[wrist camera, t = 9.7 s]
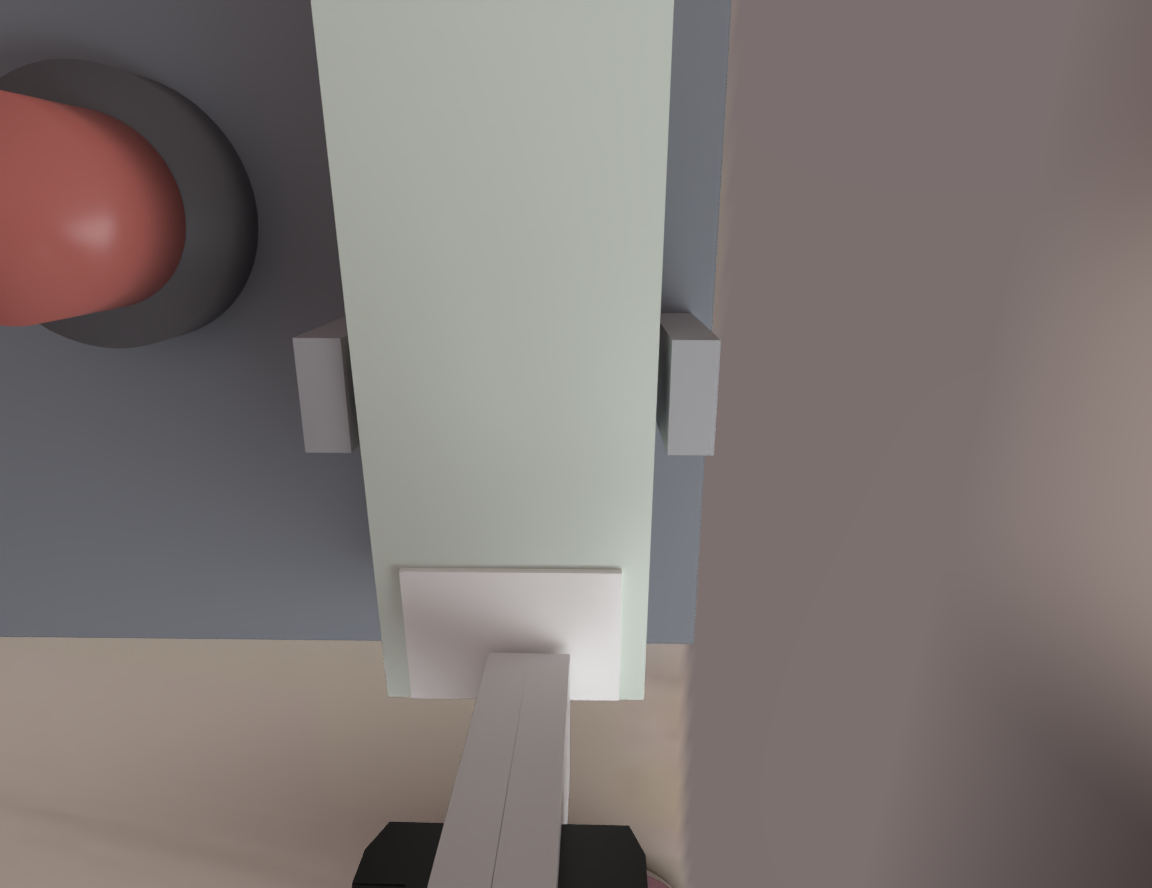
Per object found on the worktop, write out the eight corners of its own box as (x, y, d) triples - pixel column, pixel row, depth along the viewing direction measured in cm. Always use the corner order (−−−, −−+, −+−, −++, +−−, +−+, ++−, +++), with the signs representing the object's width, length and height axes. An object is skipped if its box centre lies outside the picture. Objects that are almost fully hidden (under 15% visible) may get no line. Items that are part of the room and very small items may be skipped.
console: (-193, 593, 20) (-473, 729, 15) (-396, 17, 16) (-890, -83, 10) (682, 602, 20) (718, 743, 14) (714, 16, 15) (780, -87, 10)
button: (16, 308, 14) (-94, 326, 12) (-30, 106, 13) (-161, 83, 11) (199, 308, 14) (124, 326, 12) (168, 106, 13) (79, 82, 11)
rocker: (407, 646, 16) (386, 701, 14) (345, 9, 11) (304, -17, 10) (638, 648, 16) (643, 704, 14) (662, 9, 11) (675, -18, 10)
